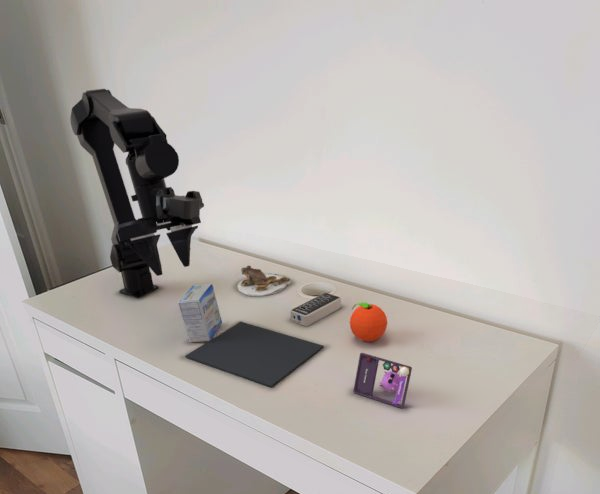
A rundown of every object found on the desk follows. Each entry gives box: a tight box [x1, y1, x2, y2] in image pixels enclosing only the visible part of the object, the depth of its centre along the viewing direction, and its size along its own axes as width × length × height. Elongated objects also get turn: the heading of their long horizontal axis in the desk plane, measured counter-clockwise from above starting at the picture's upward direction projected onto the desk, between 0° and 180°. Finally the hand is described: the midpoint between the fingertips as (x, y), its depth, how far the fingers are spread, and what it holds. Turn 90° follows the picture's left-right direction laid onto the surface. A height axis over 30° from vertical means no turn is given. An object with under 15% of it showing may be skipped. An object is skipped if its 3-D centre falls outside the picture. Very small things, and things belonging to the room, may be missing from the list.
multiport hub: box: [290, 292, 342, 327], centre depth 125 cm, size 4×11×2 cm, turn 137°
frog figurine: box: [237, 265, 292, 297], centre depth 139 cm, size 12×12×4 cm
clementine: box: [349, 302, 388, 343], centre depth 114 cm, size 8×7×7 cm
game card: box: [352, 352, 413, 409], centre depth 99 cm, size 7×5×9 cm
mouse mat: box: [184, 321, 325, 388], centre depth 113 cm, size 20×16×1 cm
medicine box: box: [177, 283, 223, 343], centre depth 118 cm, size 8×4×9 cm, turn 169°
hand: (173, 270), depth 116 cm, fingers open, 9 cm apart
